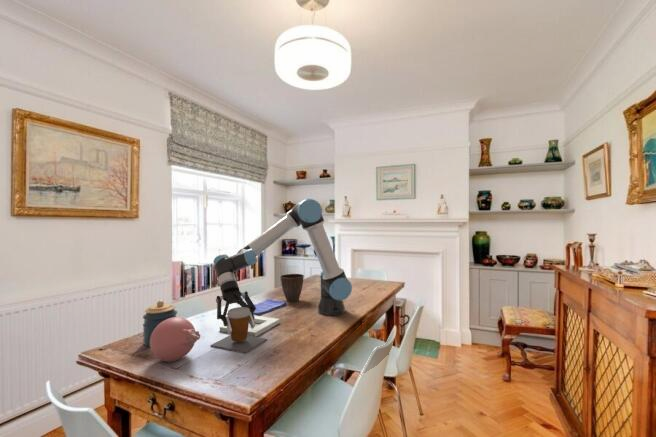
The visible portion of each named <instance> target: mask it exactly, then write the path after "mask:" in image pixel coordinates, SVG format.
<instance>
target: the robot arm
mask: <svg viewBox="0 0 656 437" xmlns="http://www.w3.org/2000/svg"><path fill="white" fill-rule="evenodd" d="M324 223H325V218H324V216H323V209H322V205H321V204H320V203H319V202H318V201H317V200H315V199H313V198H306V199H303V200H300V201H299V202H297V203H296V204H295V205H294V206H293V207H292V208H291V209H290V210H289V211H287V212H286V215H285V216H283V218H281V219H280V220H279V221H277V222H276V223H274V224H273V225H272V226H270V228H268V229H267V230H265V231H264V232H263V233H261V234H260V235H259V236H257V238H254V240H252V241H251V242H250V243H248V244H247V245H245V246H244V247H243V248H241V249H240V250H238V251H237V253H236V254H234V255H232V256H229V255H228V254H219V255H216V256H215V257H214V259H213V266H214V267H213V268H214V271H215V274H216V278H217V280H218V285H219V288H220V291H221V292H220V293H221V295H217V296H216V298H215V301H216V319H217V320H221V322H222V324H223V325H224V326H227V330H228V333H227V334H228V335H231V332H232V328H231V325H230V321H229V318H228V316H227V313H228V311H229V306H230V305H232V304H237V305H239V307H247V308H249V309H250V312H251V313H250V315H249V324H250V328H252V329H253V328H255V327H256V323H254V318H255V317H254V316H255V315H254V314H253V312H255V310H256V307H255V306H254V304H255V303H254V302H253V301H252V300H251V299H252V298H250V296H249V293H248V291H244V292H241V291H240V287H239V285H238V282H237V279H236V276H235V272H238V271H240V270H243V269H245V268H247V267H250V266H253V265H254V264H256V263H257V262H258V259H257V257H258V255H260V254H261V253H262V252H264V251H265V250H266V249H268V248H269V247H270V246H271V245H273V244H274V243H276V242H277V241H278V240H280V239H281V238H282V237H284V236H285V235H286V234H288V233H289V232H290V231H291V230H293V229H294V228H299V226H301V227H302V229H303V230H304V231H306V232H307V234H308V238H309V239H310V242H311V244H312V247H313V249H314V252H315V254H316V257H317V260H318V262H319V265H320V267H321V270H322V271H320V299H319V303H318V306H317V312H318V313H319V314H320V315H324V316H338V315H339V316H340V315H342V314H345V312H346V307H345V304H344V300H346V299H348V298H349V296H350V295H351V293H352V292H353V291H352V290H353V285H352V283H351V282H350V280H349V279H348V278H347V276H346V273H345V271H344V268H341V267H340V265H339V263H338V260H337V258H336V255H335V253H334V250H333V248H332V245H331V242H330V239H329V237H328V235H327V232H326V230H325V227H324ZM243 299H244V300H243ZM222 301H224V302H225V305H224V309H223V313H222Z"/></svg>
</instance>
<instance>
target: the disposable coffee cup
mask: <svg viewBox="0 0 656 437" xmlns="http://www.w3.org/2000/svg"><path fill="white" fill-rule="evenodd" d="M250 313H251V312H250V309H249V308H247V307H241V306H239V307H238V306H237V307H233V308H230V309H228V310H227V314H226V317H227V316H228V318H229V321H230V325H231V328H232V332H231V334H230V335H231V338H232V341H243V340H245V339H247V334H248V328H249V324H250V322H249V315H250Z"/></svg>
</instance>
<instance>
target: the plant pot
mask: <svg viewBox="0 0 656 437" xmlns="http://www.w3.org/2000/svg"><path fill="white" fill-rule="evenodd" d="M279 278H280V284H281V289H282V291H283V294H284V297H285V300H286V303H287V302H288V303H297V302H299V300H300V298H301V294H302V290H303V285H304V278H305V275H304V274H302V273H301V274H300V273H289V274H282V275H280V277H279Z"/></svg>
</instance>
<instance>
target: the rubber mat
mask: <svg viewBox="0 0 656 437" xmlns="http://www.w3.org/2000/svg"><path fill="white" fill-rule="evenodd" d="M267 341H268V338H264V337H258V336H256V337H253V336H247V339H245V340H243V341H232V338H231V334H228V336H226V337H223V338H222V339H219V340H218V341H216V342H214V343H212V344H210V347H211V348H216V349H222V350H226V351H232V352H236V353H241V354H247V353H249V352H251V351H252V350H254V349H256V348H258V346H259V347H260V346H261V345H262V344H264V343H266V342H267Z"/></svg>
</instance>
